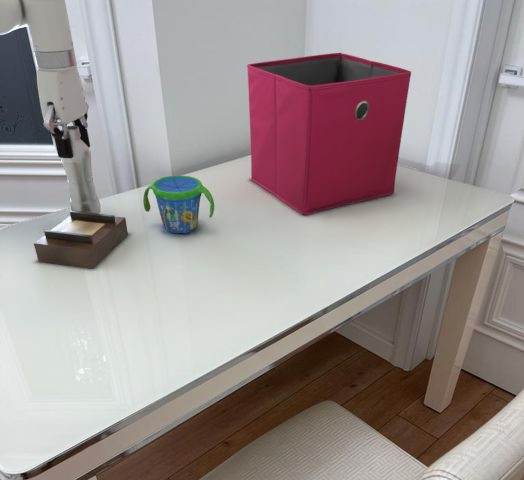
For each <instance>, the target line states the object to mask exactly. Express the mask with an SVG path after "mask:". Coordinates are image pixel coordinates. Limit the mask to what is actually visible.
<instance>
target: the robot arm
mask: <svg viewBox="0 0 524 480" xmlns="http://www.w3.org/2000/svg"><path fill="white" fill-rule="evenodd" d="M66 3H67V2H66V0H0V36H3V35H6V34H9V33H11V32H12V31H15V30H18V29H21V28H26V27H28V32H29V37H30V42H31V45H32V50H33V54H34V58H35V64H36V67H37V70H36V84H37V91H38V92H37V93H38V98H39V105H40V110H41V114H42V118H43V127H44V128H45V129H46V130H47V131H48V133H49V134H50V135H51V138H52V139H54V144H55V149H56V153H57V157H58V158H60V159H61V158H70V159H71V158H73V153H72V148H71V144H70V139H69V138H67V126H68V124H70V123H72V126H78V127H79V131H80V134H81V137H80V139H81V140H82V141H83V142H84V143H85V144H86V145H87V146H88V147H89V148H90V147H91V143H90V138H89V132H88V126H89V125H88V122H87V121H88V117H89V116H88V113H89V109H90V108H89V107H90V106H89V104H88V103H87V102H86V97H85V91H84V88H83V84H82V78H81V76H80V73H79V70H78V62H77V58H76V57H77V56H76V53H75V47H74V42H73V36H72V31H71V25H70V21H69V14H68V9H67V4H66ZM58 120H59V121H58ZM59 127H61V128H62V131H61V128H59Z"/></svg>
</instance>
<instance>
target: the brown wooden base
mask: <svg viewBox="0 0 524 480" xmlns="http://www.w3.org/2000/svg"><path fill="white" fill-rule="evenodd" d="M126 219H127V217H126V216H116V215H114V214H107V213H100V214H98V213H88V212H79V211H71V210H70V211H69V216H68V217H66V218H65V219H64V220H63V221H61V222H60V223H58V224H57V225H56V226H55V227H53V228H52V229H45V230H43V233H44V235H42V236H41V238H39V239H38V240H36V241H35V242H34V243H33V245H34V250H35V253H36V258H37V261H38V262H39V263H46V264H55V265H62V266H69V267H76V268H85V269H94V268H95V267H96V266H97V265H98V264H99V263H100V262H102V261H103V260H104V258H106V256H108V254H110V253H111V252H112V251H113V250H114V249H115V248H116V247H117V246H118V245H119V244H120V243H121V242H122V241H123V240H124V239H125V238H126V237H127V236H128V235H129V232H128V225H127V220H126Z"/></svg>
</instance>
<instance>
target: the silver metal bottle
mask: <svg viewBox="0 0 524 480" xmlns="http://www.w3.org/2000/svg"><path fill="white" fill-rule="evenodd" d="M60 130H61V131H62V127H60ZM80 137H81V134H80V131H79V127H78V126H74V125H67V138H69V139H70V144H71V148H72V153H73V158H71V159H70V158H60V161H61V164H62V167H63V170H64V172H65V176H66V179H67V183H68V189H69V196H70V199H69V201H70V203H69V204H70V211H79V212H88V213H98V214H101V210H102V209H101V202H100V199H99V196H98V194H97V191H96V187H95V183H94V177H93V171H92V170H93V169H92V152H91V150H90V147H88V146H87V145H86V144H85V143H84V142H83V141H82V140H81V139H80Z"/></svg>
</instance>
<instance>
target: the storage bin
mask: <svg viewBox="0 0 524 480" xmlns="http://www.w3.org/2000/svg"><path fill="white" fill-rule="evenodd" d="M246 68H247V87H248V90H247V91H248V109H249V110H248V111H249V113H248V114H249V134H250V135H249V136H250V139H249V140H250V169H251V170H250V172H251V175H250V176H251V177H250V180H251V181H252V182H254V183H255V184H256V185H259V186H260V187H261V188H262V189H264V190H266V191H267V192H269V193H271V194H272V195H273V196H275V197H276V198H277V199H279V200H280V201H281V202H283V203H284V204H286V205H287V206H288V207H290V208H291V209H293V210H294V211H296V212H298V213H299V214H300V215H302V216H304V217H305V216H309V215H311V214H315V213H318V212H321V211H326V210H330V209H334V208H338V207H342V206H347V205H351V204H354V203H359V202H363V201H368V200H372V199H377V198H381V197H386V196H390V195H394V194H395V185H396V178H397V177H396V176H397V170H398V163H399V155H400V149H401V143H402V136H403V130H404V129H403V128H404V123H405V117H406V116H405V115H406V110H407V109H406V108H407V102H408V95H409V89H410V83H411V78H412V77H411V76H412V71H411V70H408V69H405V68H402V67H399V66H394V65H391V64H387V63H383V62H379V61H374V60H369V59H366V58H364V57H363V58H362V57H359V56H355V55H351V54H348V53H343V52H331V53H324V54H323V53H322V54H316V55H307V56H298V57H293V58H286V59H277V60H276V59H275V60H268V61H262V62H253V63H247V65H246Z"/></svg>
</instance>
